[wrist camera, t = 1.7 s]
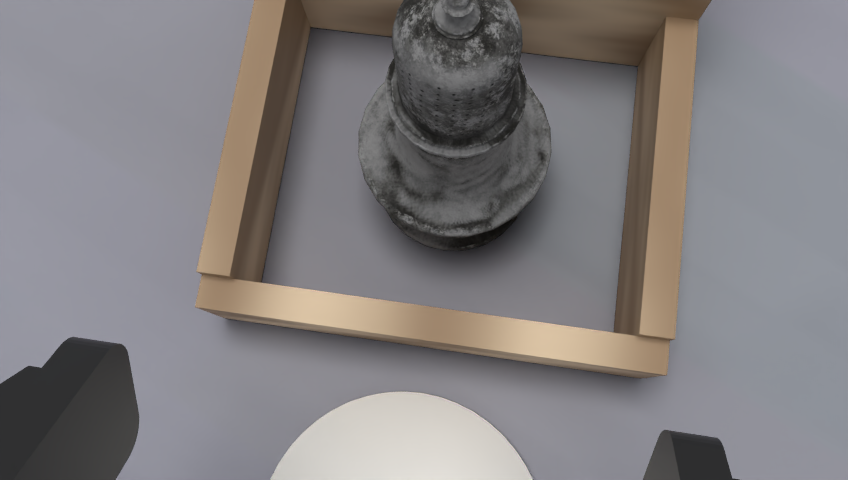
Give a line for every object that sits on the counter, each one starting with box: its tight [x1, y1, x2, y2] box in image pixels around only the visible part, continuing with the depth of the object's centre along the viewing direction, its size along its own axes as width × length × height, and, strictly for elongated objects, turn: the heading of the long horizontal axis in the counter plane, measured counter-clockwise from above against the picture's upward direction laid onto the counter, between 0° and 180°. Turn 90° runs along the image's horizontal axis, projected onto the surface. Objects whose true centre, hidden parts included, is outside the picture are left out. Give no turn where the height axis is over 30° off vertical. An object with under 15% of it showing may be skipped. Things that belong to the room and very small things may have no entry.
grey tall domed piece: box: [358, 0, 551, 250], centre depth 20 cm, size 6×6×12 cm
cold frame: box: [195, 0, 711, 378], centre depth 18 cm, size 14×15×17 cm
